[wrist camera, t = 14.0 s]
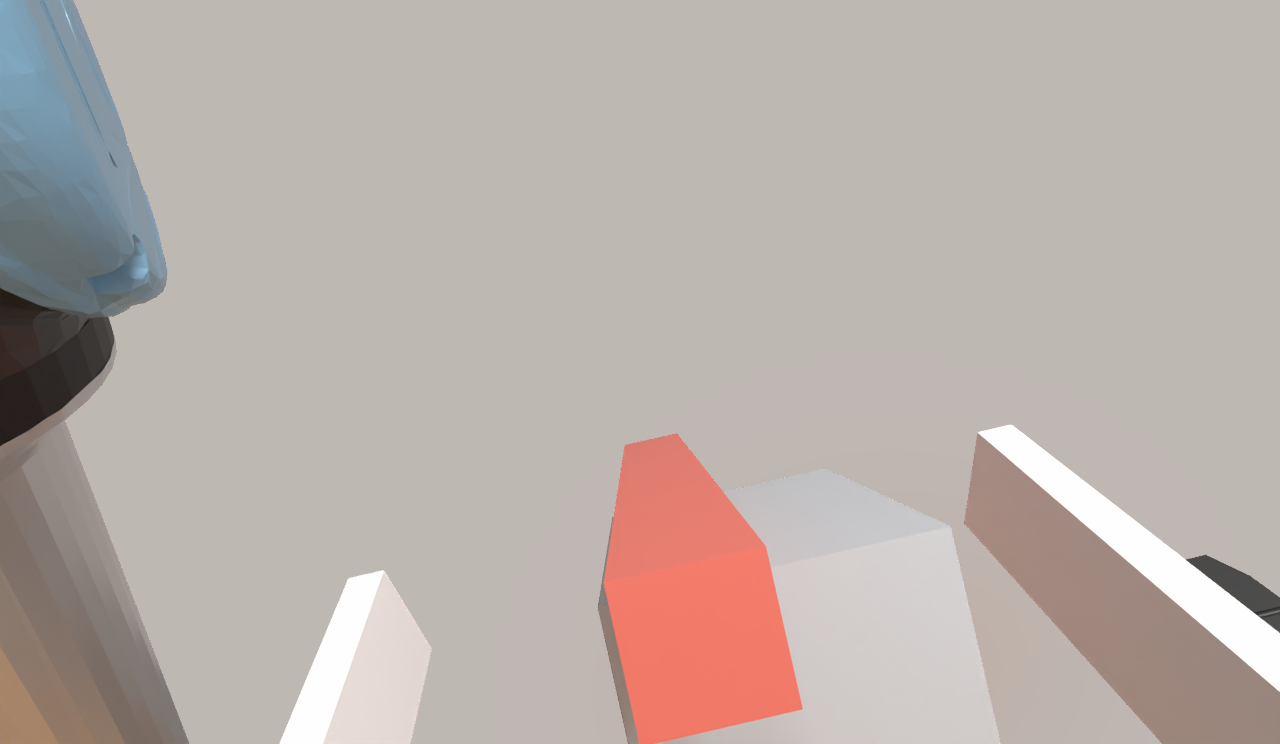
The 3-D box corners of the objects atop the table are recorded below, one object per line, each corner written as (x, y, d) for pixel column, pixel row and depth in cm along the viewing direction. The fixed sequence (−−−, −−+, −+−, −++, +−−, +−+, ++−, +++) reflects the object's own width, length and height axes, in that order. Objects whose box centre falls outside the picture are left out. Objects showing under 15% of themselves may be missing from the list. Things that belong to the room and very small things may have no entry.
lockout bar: (803, 709, 13) (765, 545, 13) (640, 747, 13) (603, 583, 13) (688, 485, 41) (677, 433, 41) (636, 497, 41) (624, 445, 41)
